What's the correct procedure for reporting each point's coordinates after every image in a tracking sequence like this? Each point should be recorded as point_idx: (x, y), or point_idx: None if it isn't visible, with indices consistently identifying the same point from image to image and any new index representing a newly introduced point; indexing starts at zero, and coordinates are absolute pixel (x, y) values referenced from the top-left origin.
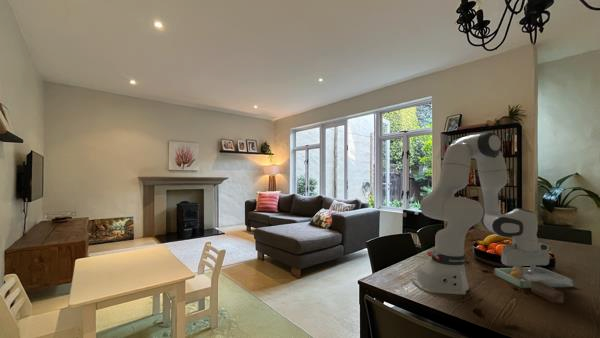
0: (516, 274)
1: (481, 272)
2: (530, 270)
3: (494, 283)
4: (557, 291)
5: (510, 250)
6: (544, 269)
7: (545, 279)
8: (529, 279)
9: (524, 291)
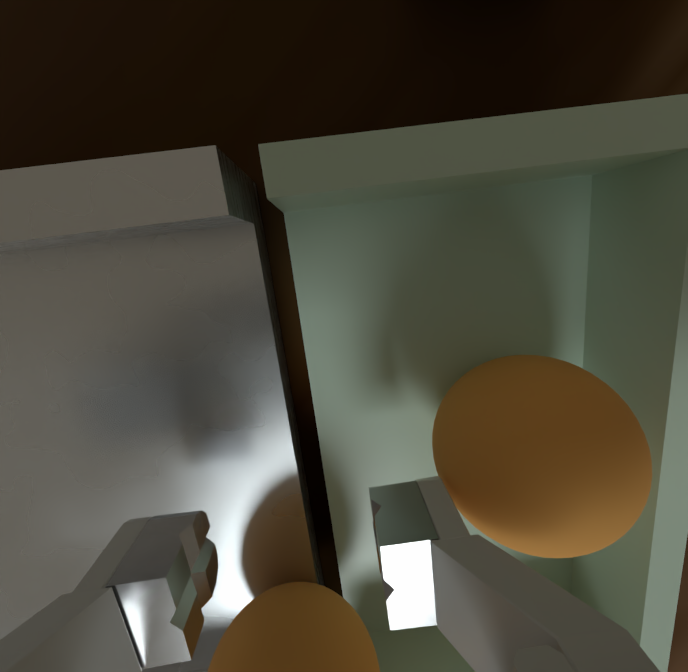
0: (614, 415)
1: (682, 645)
2: (118, 626)
3: None
4: None
5: None
6: None
7: (17, 223)
8: (260, 422)
9: (663, 3)
